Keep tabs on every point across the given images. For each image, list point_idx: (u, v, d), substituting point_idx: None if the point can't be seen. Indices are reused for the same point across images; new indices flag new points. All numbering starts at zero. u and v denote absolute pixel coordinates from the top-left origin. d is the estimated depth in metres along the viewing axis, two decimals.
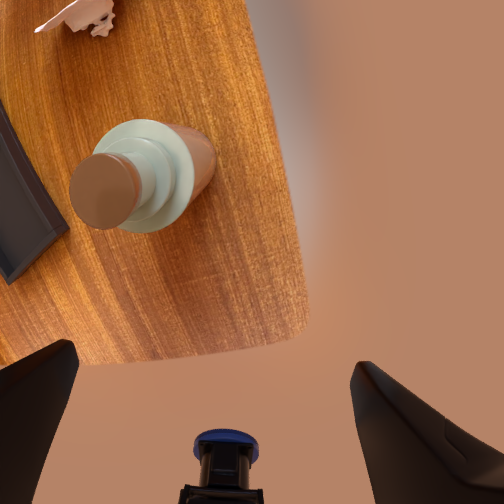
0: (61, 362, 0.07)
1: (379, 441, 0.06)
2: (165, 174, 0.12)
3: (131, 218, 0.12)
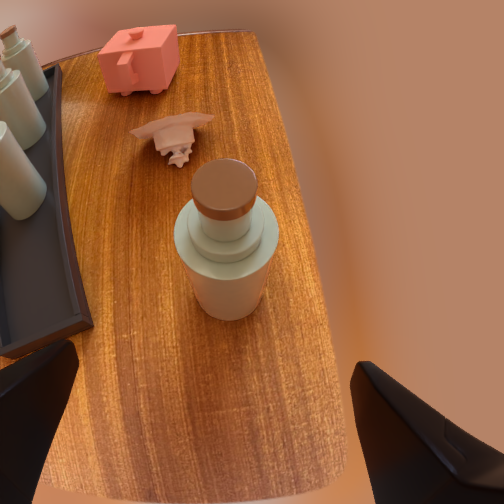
0: (61, 362, 0.07)
1: (379, 441, 0.06)
2: (260, 220, 0.14)
3: (219, 251, 0.14)
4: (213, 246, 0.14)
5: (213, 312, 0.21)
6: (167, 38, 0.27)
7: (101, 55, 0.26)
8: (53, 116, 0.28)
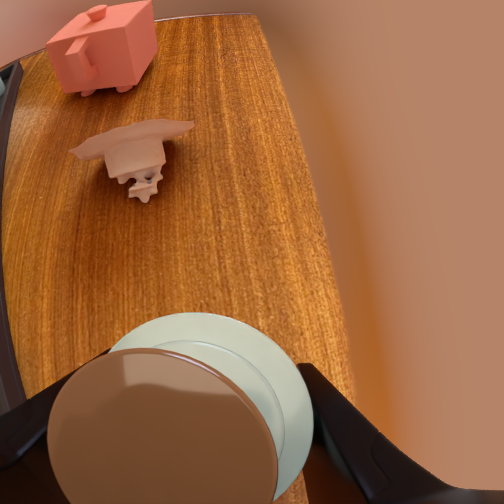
0: None
1: (311, 449, 0.06)
2: (274, 432, 0.05)
3: None
4: None
5: None
6: (136, 16, 0.18)
7: (50, 44, 0.17)
8: None
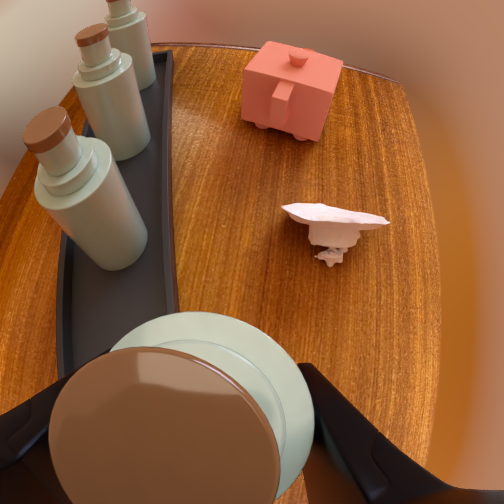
0: None
1: (311, 449, 0.06)
2: (275, 432, 0.05)
3: None
4: None
5: None
6: (337, 80, 0.23)
7: (249, 72, 0.23)
8: (164, 129, 0.26)
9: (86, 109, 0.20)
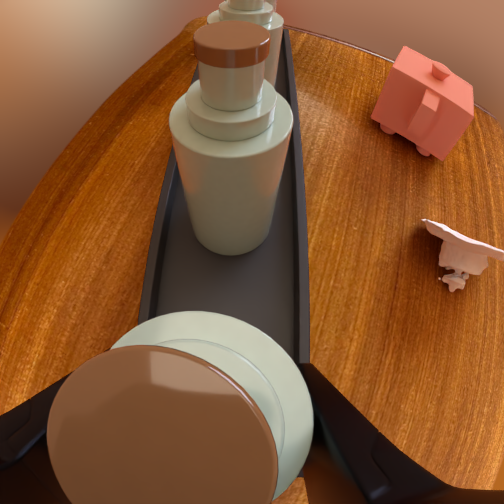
0: None
1: (311, 449, 0.06)
2: (274, 431, 0.05)
3: None
4: None
5: None
6: None
7: (397, 72, 0.19)
8: (294, 107, 0.23)
9: None
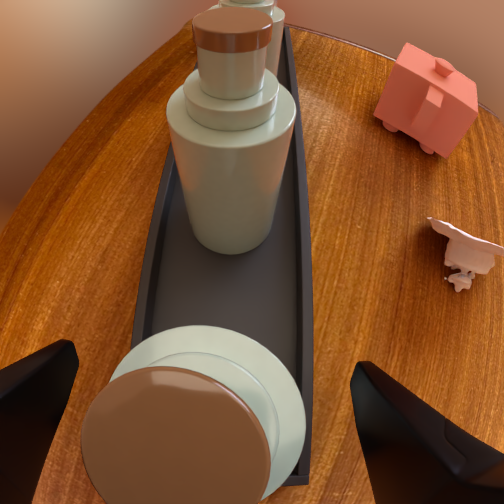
0: (61, 362, 0.07)
1: (379, 441, 0.06)
2: (270, 432, 0.06)
3: None
4: None
5: None
6: (476, 101, 0.18)
7: (400, 68, 0.19)
8: (295, 103, 0.22)
9: None
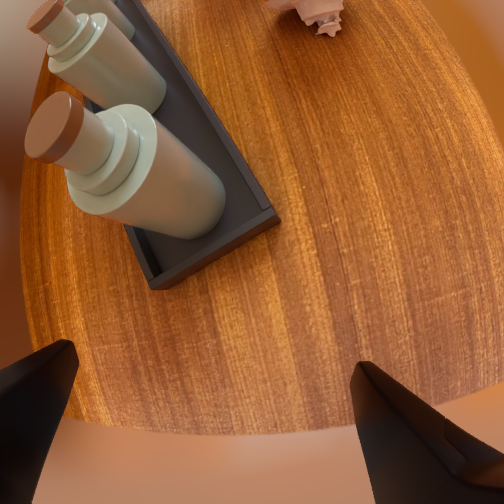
0: (61, 362, 0.07)
1: (379, 441, 0.06)
2: (120, 123, 0.11)
3: (99, 180, 0.11)
4: (92, 180, 0.11)
5: (182, 235, 0.19)
6: None
7: None
8: (143, 12, 0.22)
9: None
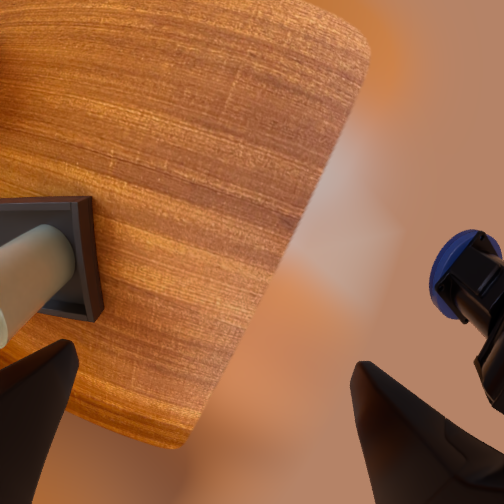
0: (61, 362, 0.07)
1: (379, 441, 0.06)
2: None
3: None
4: None
5: (64, 278, 0.19)
6: None
7: None
8: None
9: None
